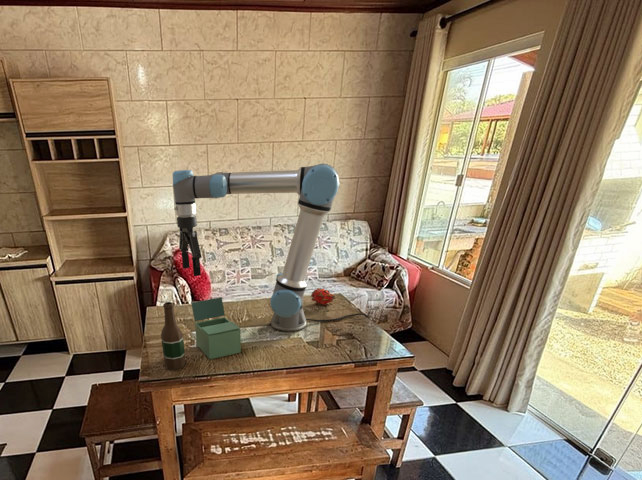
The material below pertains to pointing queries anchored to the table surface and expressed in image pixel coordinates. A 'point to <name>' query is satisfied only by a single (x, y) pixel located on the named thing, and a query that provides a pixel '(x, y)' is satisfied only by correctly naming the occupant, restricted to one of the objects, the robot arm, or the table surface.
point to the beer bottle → (172, 340)
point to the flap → (208, 309)
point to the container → (218, 337)
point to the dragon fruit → (322, 296)
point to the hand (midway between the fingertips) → (191, 271)
